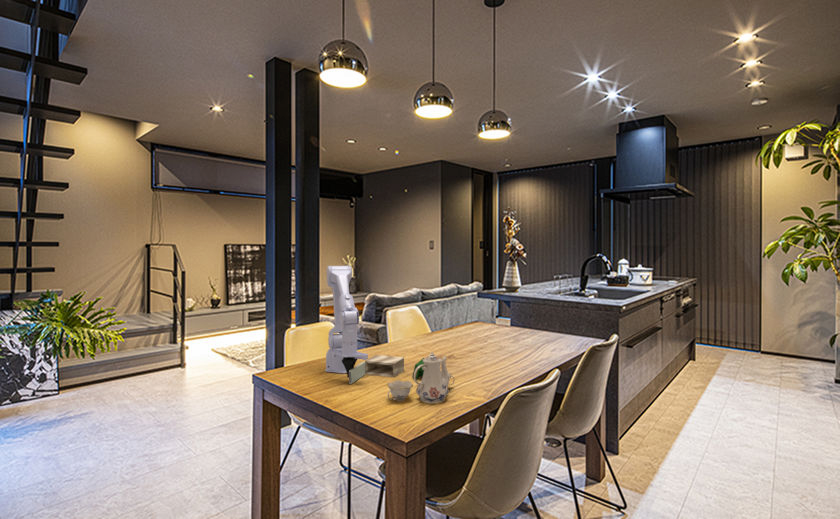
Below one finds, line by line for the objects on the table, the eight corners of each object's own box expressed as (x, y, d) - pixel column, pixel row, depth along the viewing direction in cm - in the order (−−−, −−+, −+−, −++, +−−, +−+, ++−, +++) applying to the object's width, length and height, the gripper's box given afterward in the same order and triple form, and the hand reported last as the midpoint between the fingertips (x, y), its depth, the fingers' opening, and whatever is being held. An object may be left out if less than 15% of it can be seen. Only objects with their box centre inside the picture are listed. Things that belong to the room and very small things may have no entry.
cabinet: (365, 374, 168) (365, 360, 168) (375, 367, 177) (375, 354, 177) (394, 377, 164) (394, 363, 163) (404, 370, 173) (404, 357, 173)
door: (364, 373, 168) (363, 361, 168) (365, 373, 167) (365, 361, 167) (348, 384, 155) (348, 370, 154) (350, 384, 154) (350, 370, 154)
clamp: (425, 390, 162) (427, 372, 157) (411, 385, 163) (413, 367, 159) (435, 371, 172) (438, 354, 167) (422, 366, 173) (424, 349, 169)
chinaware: (439, 386, 157) (435, 343, 158) (472, 393, 145) (469, 345, 146) (380, 405, 138) (377, 355, 139) (413, 415, 126) (409, 360, 127)
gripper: (327, 342, 156) (327, 378, 157) (361, 345, 152) (362, 381, 152) (337, 338, 163) (337, 372, 163) (370, 341, 158) (370, 376, 159)
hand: (349, 376), depth 158 cm, fingers closed
